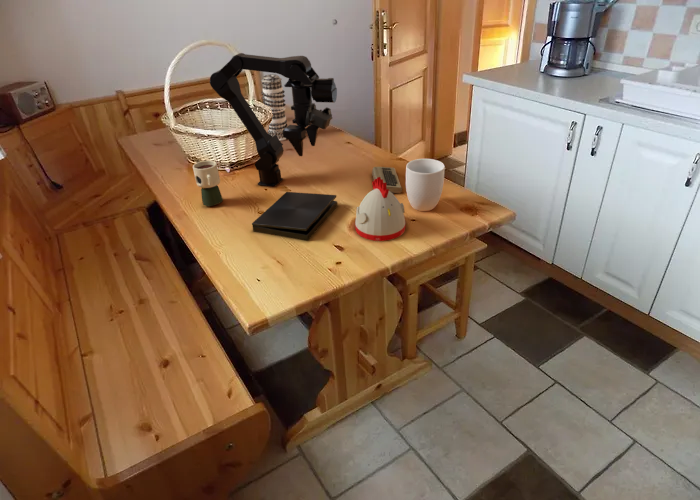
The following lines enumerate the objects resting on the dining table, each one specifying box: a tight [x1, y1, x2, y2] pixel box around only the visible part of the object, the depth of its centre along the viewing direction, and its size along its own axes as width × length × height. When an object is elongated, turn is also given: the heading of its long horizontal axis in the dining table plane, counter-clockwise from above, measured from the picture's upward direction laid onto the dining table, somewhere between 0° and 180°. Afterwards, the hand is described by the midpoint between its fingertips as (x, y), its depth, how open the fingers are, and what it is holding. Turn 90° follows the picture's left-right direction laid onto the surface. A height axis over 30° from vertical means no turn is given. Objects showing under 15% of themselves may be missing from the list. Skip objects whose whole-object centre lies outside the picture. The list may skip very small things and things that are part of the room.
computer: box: [371, 166, 403, 194], centre depth 155 cm, size 16×8×3 cm, turn 3°
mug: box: [405, 158, 446, 212], centre depth 140 cm, size 15×11×13 cm
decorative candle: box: [260, 73, 288, 142], centre depth 192 cm, size 9×9×25 cm
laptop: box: [251, 200, 338, 242], centre depth 138 cm, size 17×21×2 cm
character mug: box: [192, 159, 224, 207], centre depth 145 cm, size 11×7×13 cm, turn 25°
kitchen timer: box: [354, 177, 406, 242], centre depth 128 cm, size 14×14×15 cm
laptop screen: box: [251, 191, 337, 231], centre depth 137 cm, size 17×21×1 cm
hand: (307, 150), depth 151 cm, fingers open, 9 cm apart
